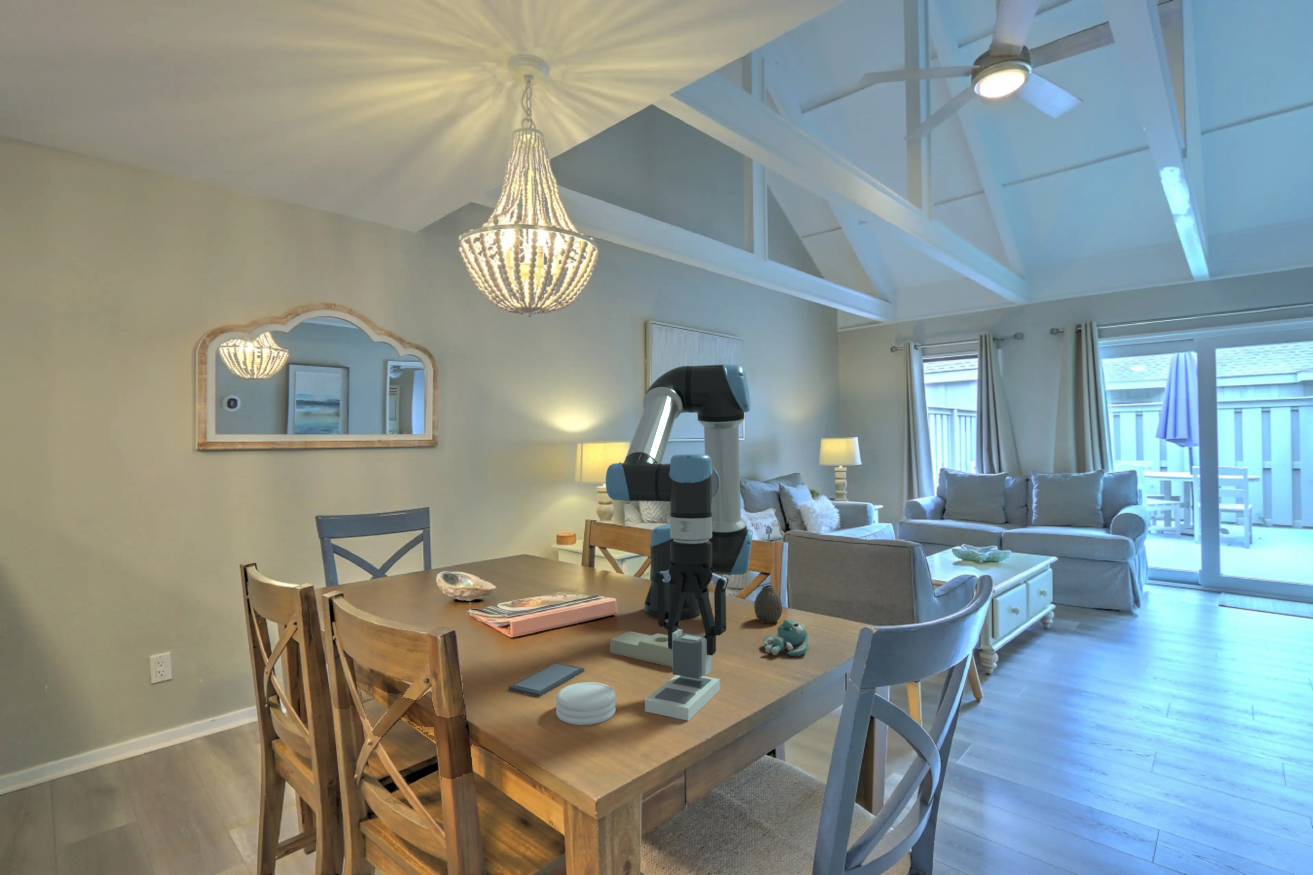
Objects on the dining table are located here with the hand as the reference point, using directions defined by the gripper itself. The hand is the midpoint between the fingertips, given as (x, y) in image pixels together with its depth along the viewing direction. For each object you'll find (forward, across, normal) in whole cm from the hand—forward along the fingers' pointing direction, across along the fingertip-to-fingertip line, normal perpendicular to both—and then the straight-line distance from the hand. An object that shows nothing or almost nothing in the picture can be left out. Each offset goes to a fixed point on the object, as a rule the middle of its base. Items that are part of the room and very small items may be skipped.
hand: (691, 669), depth 113 cm
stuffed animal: (+5, +9, +30) cm, 32 cm away
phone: (+5, -27, -6) cm, 28 cm away
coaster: (+5, -13, -15) cm, 20 cm away
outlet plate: (+4, 0, -3) cm, 5 cm away
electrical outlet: (+5, -15, +15) cm, 22 cm away
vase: (+4, -1, +50) cm, 50 cm away
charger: (0, 0, 0) cm, 0 cm away
